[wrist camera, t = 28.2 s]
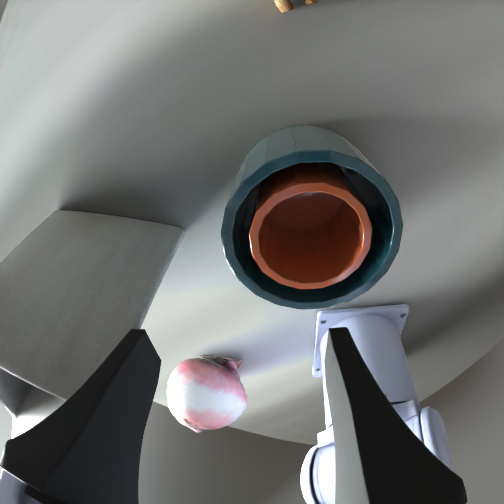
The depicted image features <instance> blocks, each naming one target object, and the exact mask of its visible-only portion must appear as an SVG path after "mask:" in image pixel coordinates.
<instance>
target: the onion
mask: <svg viewBox="0 0 504 504" xmlns="http://www.w3.org/2000/svg"><path fill="white" fill-rule="evenodd" d="M201 356H202V355H201ZM203 357H205V358H209V359H213V358H215V357H219V356H212V355H203ZM219 358H225V357H219ZM224 360H226V361H219V362H217V363H216V362H214V361H212V360H206V359H200V358H196V359H194V358H193V359H188V360H185V361H183V362H181V363H180V364H179V365H178V366H177V367H176V368H175V369H174V370H173V372H172V374H171V376H170V378H169V382H168V386H167V398H168V404H169V408H170V411H171V412H172V414H173V415H174V416H175V417H176V418H177V420H178V421H179V422H180V423H182V424H183V425H185V426H188V427H189V428H191V429H193V430H194V431H196V432H197V433H200V432H201V431H202V430H204V429H209V430H210V429H217V428H221V427H224V426H226V425H228V424H230V423H232V422H233V421H234V420H236V419H237V418H238V417H239V416H240V415H241V414H242V412H243V411H244V409H245V407H246V406H247V395H246V393H245V389H244V387H243V384H242V383H241V381H240V378H239V375H238V373H237V369H238V368H239V366H240V365H241V364H242V363H243V360H234V359H229V358H225V359H224Z"/></svg>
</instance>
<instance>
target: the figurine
mask: <svg viewBox="0 0 504 504" xmlns="http://www.w3.org/2000/svg"><path fill="white" fill-rule="evenodd" d="M274 1H275V3H276V6H277V7H278V8H279V10H280V11H281V12H287V11H290V10H293V9H294V5H293V4H292V2H291V0H274ZM304 2H305V3H306V4H311V3H315V2H317V0H304Z"/></svg>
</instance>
